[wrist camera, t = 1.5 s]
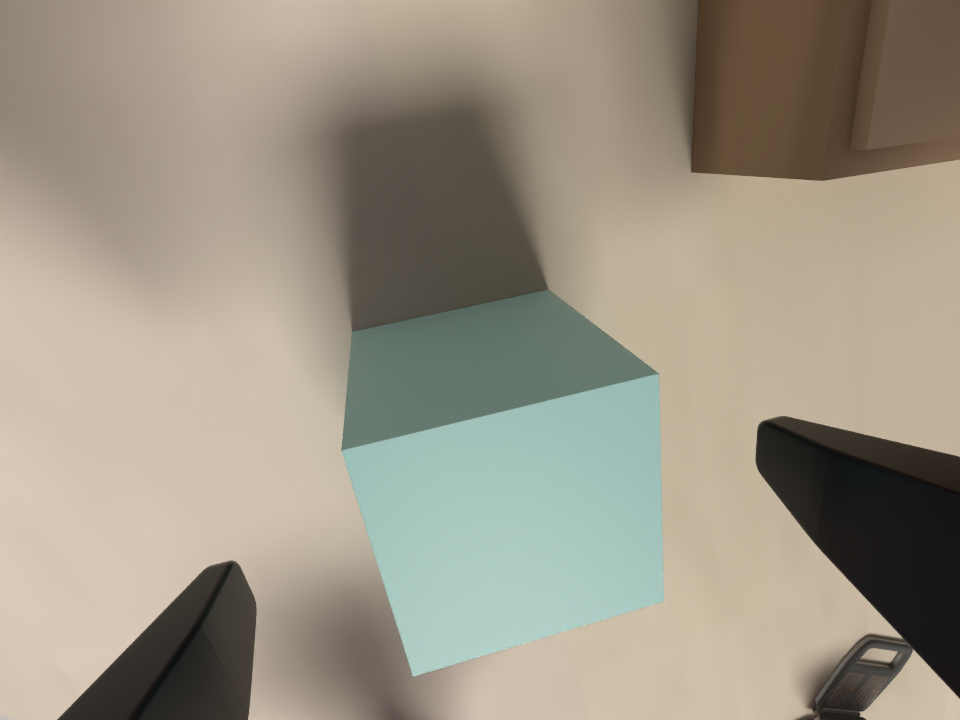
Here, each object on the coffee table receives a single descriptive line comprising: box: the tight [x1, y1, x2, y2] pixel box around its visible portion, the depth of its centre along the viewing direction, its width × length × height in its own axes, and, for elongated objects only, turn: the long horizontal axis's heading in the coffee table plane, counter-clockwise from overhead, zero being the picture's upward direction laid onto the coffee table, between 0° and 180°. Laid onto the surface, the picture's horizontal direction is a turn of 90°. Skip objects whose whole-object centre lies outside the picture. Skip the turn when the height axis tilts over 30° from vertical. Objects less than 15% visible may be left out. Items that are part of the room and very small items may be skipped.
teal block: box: [342, 290, 664, 677], centre depth 10 cm, size 4×4×5 cm
